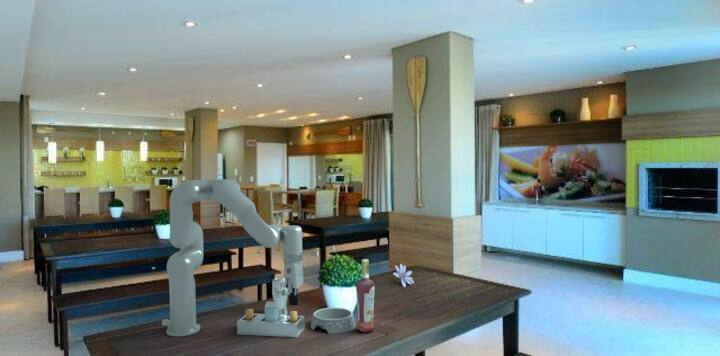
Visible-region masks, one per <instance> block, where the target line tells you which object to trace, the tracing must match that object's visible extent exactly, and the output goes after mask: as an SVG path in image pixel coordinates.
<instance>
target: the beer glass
mask: <svg viewBox="0 0 720 356" xmlns="http://www.w3.org/2000/svg"><path fill="white" fill-rule="evenodd" d="M271 283H272V285H271V286H272V287H271V288H272V289H271V293H272V299H273V302H276V303H277V305H278V315H288V313H289V312H288V307H287V305H288V304H287V303H288V299H289V297H288V296H289V293H288V288H287V289H286V288H285V283H284V277H278V278H274V279H272V282H271Z"/></svg>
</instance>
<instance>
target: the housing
mask: <svg viewBox="0 0 720 356" xmlns="http://www.w3.org/2000/svg"><path fill="white" fill-rule="evenodd" d="M305 323H306V322H305V315H297V322H296V323H290V318H289V314H286V315H278V321H277V322H270V321H265V313H254V312H253V319H252V320H251V321H250V320H246V314H244V315H243V316H242V317H241V318H240V319H238V320H237V321H236V329H237V333H236V334H237V335H246V336H264V337H265V336H266V337H281V338H299V335H301V333H302V332H303V331H304V330H305V325H306V324H305Z"/></svg>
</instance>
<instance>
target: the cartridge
mask: <svg viewBox="0 0 720 356" xmlns="http://www.w3.org/2000/svg"><path fill="white" fill-rule="evenodd" d="M264 314H265V321H270V322H277V321H278V305H277V303H276V302H274V301H269V300H268V301H266V302H265V305H264Z"/></svg>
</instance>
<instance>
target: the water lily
mask: <svg viewBox="0 0 720 356" xmlns="http://www.w3.org/2000/svg"><path fill="white" fill-rule="evenodd" d="M394 266H395V270H396V272H393V273H392V274H393V275H394V276H395V277H397V278H399V279H398V280H397V282H396V284H399V283H401V285H402V287H404V288H406V286H407V284H409V285H412V284H415V282H414V280H413V277H411V274H413V271H412V270H408V271H406V270H407V267H406V265H405V264H404V265H403V264H402V263H400V265H399V266H397V265H394Z"/></svg>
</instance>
